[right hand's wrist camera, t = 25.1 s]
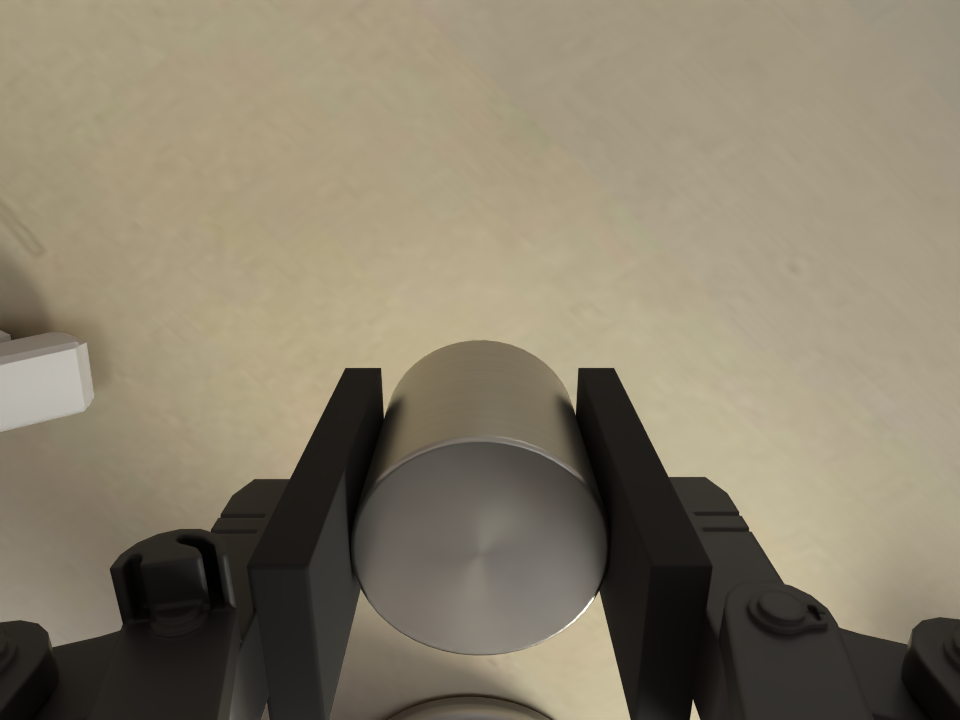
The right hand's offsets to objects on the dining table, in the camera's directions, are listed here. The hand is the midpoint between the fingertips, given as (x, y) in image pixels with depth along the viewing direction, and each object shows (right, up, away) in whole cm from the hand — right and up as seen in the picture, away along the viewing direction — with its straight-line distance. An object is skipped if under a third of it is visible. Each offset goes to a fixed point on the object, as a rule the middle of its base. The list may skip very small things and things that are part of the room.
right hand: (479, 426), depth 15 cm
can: (0, 0, 0) cm, 0 cm away
